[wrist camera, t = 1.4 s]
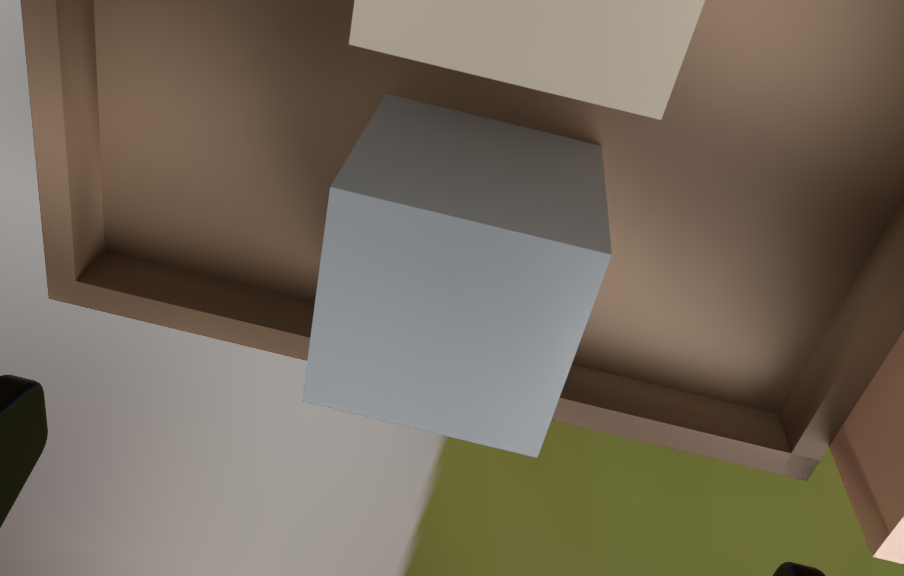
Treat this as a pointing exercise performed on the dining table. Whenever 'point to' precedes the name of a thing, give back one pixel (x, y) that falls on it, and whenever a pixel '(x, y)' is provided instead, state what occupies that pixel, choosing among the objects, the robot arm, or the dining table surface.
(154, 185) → the parts tray
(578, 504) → the dining table surface
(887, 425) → the pink storage bin
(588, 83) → the beige cube
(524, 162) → the pale grey matte cube
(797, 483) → the dining table surface
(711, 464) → the dining table surface
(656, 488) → the dining table surface
